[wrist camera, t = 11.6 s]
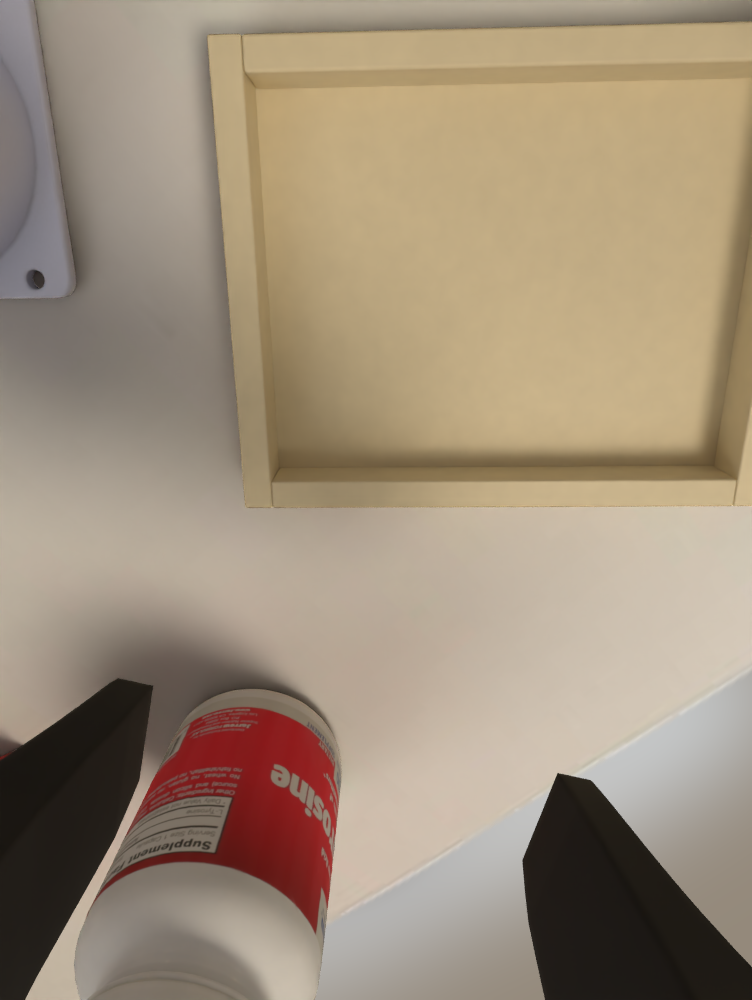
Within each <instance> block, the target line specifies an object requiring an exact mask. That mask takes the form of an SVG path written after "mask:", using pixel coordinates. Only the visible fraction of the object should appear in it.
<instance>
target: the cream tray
mask: <svg viewBox="0 0 752 1000" xmlns="http://www.w3.org/2000/svg"><path fill="white" fill-rule="evenodd" d="M207 44H208V56H209V69H210V81H211V93H212V105H213V118H214V130H215V142H216V154H217V167H218V179H219V191H220V203H221V216H222V228H223V240H224V253H225V265H226V277H227V289H228V302H229V314H230V326H231V338H232V351H233V363H234V375H235V387H236V400H237V412H238V424H239V437H240V449H241V461H242V473H243V486H244V498H245V507H246V508H271V507H274V508H333V507H610V506H732V505H733V506H752V21H746V22H706V23H666V24H626V25H586V26H546V27H505V28H465V29H425V30H385V31H345V32H305V33H265V34H244V35H243V36H241V35H240V34H209V35H207Z"/></svg>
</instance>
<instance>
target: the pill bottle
mask: <svg viewBox="0 0 752 1000" xmlns="http://www.w3.org/2000/svg"><path fill="white" fill-rule="evenodd" d="M341 774H342V769H341V758H340V753H339V749H338V746H337V743H336V740H335V738H334V736H333V734H332V732H331V731H330V729H329V727H328V726H327V725H326V723H325V722H324V721H323V720H322V719H321V717H320V716H319V715H318V714H317V713H316V712H314V711H313V710H312V709H311V708H310V707H308V706H307V705H306V704H304V703H302V702H301V701H299V700H297V699H295V698H292V697H290V696H287V695H285V694H282V693H278V692H274V691H269V690H263V689H241V690H234V691H229V692H226V693H223V694H219V695H217V696H215V697H212V698H210V699H208V700H207V701H205V702H203V703H202V704H200V705H199V706H198V707H197V708H195V709H194V710H193V711H192V712H191V713H190V714H189V715H188V716H187V717H186V718H185V720H184V721H183V722H182V724H181V725H180V727H179V729H178V730H177V732H176V734H175V736H174V738H173V740H172V742H171V744H170V746H169V748H168V750H167V752H166V754H165V756H164V759H163V761H162V763H161V765H160V767H159V769H158V771H157V773H156V775H155V777H154V779H153V781H152V783H151V785H150V787H149V789H148V792H147V794H146V796H145V798H144V800H143V802H142V804H141V806H140V808H139V810H138V812H137V814H136V816H135V818H134V820H133V822H132V824H131V826H130V828H129V830H128V832H127V834H126V836H125V838H124V840H123V842H122V844H121V847H120V849H119V851H118V853H117V855H116V857H115V859H114V861H113V863H112V865H111V867H110V869H109V871H108V873H107V875H106V877H105V880H104V881H103V883H102V885H101V887H100V890H99V892H98V894H97V896H96V898H95V900H94V902H93V904H92V906H91V908H90V910H89V912H88V914H87V917H86V920H85V922H84V924H83V927H82V929H81V931H80V934H79V938H78V941H77V946H76V951H75V961H74V969H75V981H76V985H77V989H78V994H79V997H80V999H81V1000H314V999H315V997H316V993H317V988H318V983H319V977H320V970H321V963H322V954H323V945H324V936H325V928H326V919H327V908H328V900H329V892H330V881H331V874H332V863H333V854H334V847H335V834H336V825H337V816H338V806H339V796H340V787H341Z"/></svg>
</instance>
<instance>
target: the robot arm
mask: <svg viewBox="0 0 752 1000" xmlns="http://www.w3.org/2000/svg"><path fill="white" fill-rule="evenodd" d="M37 270H38V271H39V272H41V273H42V274H43V277H44V279H45V282H44V286H43V287H42V288H41V289H40V288H38V287H37V286H36V285H35V283H34V281H33V275H34V273H35V272H36V271H37ZM75 287H76V274H75V267H74V261H73V254H72V247H71V241H70V234H69V227H68V221H67V214H66V208H65V201H64V194H63V188H62V181H61V175H60V168H59V161H58V155H57V148H56V141H55V135H54V128H53V122H52V115H51V108H50V102H49V95H48V88H47V82H46V75H45V69H44V62H43V55H42V49H41V42H40V36H39V29H38V22H37V16H36V9H35V2H34V0H0V299H19V298H63V297H67V296H69V295H70V294H72V293H73V292H74V289H75ZM152 690H153V686H151V685H147V684H142V683H138V682H133V681H128V680H124V679H119V678H118V679H116V680H114V681H112V682H111V683H109V684H108V685H107V686H105V687H104V688H102V689H101V690H100V691H98V692H97V693H96V694H94V695H93V696H92V697H90V698H89V699H88V700H86V701H85V702H84V703H82V704H81V705H80V706H78V707H77V708H75V709H74V710H73V711H71V712H70V713H69V714H67V715H66V716H64V717H63V718H62V719H60V720H59V721H57V722H56V723H55V724H53V725H52V726H50V727H49V728H47V729H46V730H44V731H43V732H41V733H40V734H39V735H37V736H36V737H34V738H33V739H31V740H30V741H28V742H27V743H25V744H24V745H22V746H21V747H19V748H18V749H17V750H15V751H13V752H12V753H10V754H9V755H7V756H6V757H4V758H3V759H1V760H0V1000H25V998H26V997H27V995H28V993H29V991H30V989H31V987H32V985H33V983H34V981H35V979H36V977H37V975H38V974H39V972H40V970H41V968H42V966H43V965H44V963H45V961H46V959H47V958H48V956H49V954H50V952H51V950H52V949H53V947H54V945H55V943H56V942H57V940H58V938H59V936H60V935H61V933H62V931H63V929H64V927H65V926H66V924H67V922H68V920H69V919H70V917H71V915H72V913H73V911H74V910H75V908H76V906H77V904H78V903H79V901H80V899H81V897H82V896H83V894H84V892H85V890H86V888H87V887H88V885H89V883H90V881H91V880H92V878H93V876H94V874H95V872H96V871H97V869H98V867H99V865H100V863H101V862H102V860H103V858H104V856H105V854H106V853H107V851H108V849H109V847H110V845H111V844H112V842H113V840H114V838H115V836H116V834H117V831H118V829H119V827H120V824H121V822H122V820H123V817H124V815H125V813H126V811H127V808H128V806H129V803H130V801H131V799H132V796H133V794H134V791H135V789H136V787H137V784H138V782H139V778H140V771H141V765H142V758H143V751H144V744H145V738H146V731H147V724H148V717H149V711H150V704H151V697H152ZM523 872H524V884H525V895H526V904H527V912H528V922H529V927H530V932H531V937H532V941H533V946H534V950H535V956H536V960H537V964H538V969H539V974H540V978H541V983H542V987H543V992H544V997H545V1000H752V967H751V966H750V965H749V964H748V962H746V960H745V959H744V958H743V957H742V956H741V955H740V954H739V953H738V952H737V951H736V950H735V949H734V948H733V947H732V946H731V945H730V943H729V942H728V941H727V940H726V939H725V938H724V937H723V936H722V935H721V934H720V932H719V931H718V930H717V929H716V928H715V927H714V926H713V925H712V924H711V923H710V921H709V920H708V919H707V918H706V917H705V916H704V915H703V914H702V913H701V912H700V910H699V909H698V908H697V907H696V906H695V905H694V904H693V902H692V901H691V900H690V899H689V898H688V897H687V896H686V894H685V893H684V892H683V891H682V890H681V888H680V887H679V886H678V885H677V884H676V883H675V881H674V880H673V879H672V878H671V877H670V875H669V874H668V873H667V872H666V871H665V870H664V868H663V867H662V866H661V865H660V863H659V862H658V861H657V860H656V859H655V857H654V856H653V855H652V854H651V853H650V851H649V850H648V849H647V848H646V846H645V845H644V844H643V843H642V841H641V840H640V839H639V838H638V836H637V835H636V834H635V833H634V831H633V830H632V829H631V828H630V827H629V825H628V824H627V823H626V822H625V820H624V819H623V818H622V817H621V815H620V814H619V813H618V812H617V810H616V809H615V808H614V807H613V806H612V804H611V803H610V802H609V801H608V799H607V798H606V797H605V796H604V795H603V794H602V792H601V791H600V790H599V789H598V788H597V787H596V786H595V784H594V783H593V782H592V781H591V780H587V779H582V778H578V777H573V776H569V775H564V774H559V773H558V774H557V776H556V779H555V781H554V784H553V786H552V789H551V791H550V793H549V796H548V799H547V801H546V803H545V806H544V808H543V811H542V814H541V816H540V818H539V821H538V823H537V826H536V828H535V831H534V833H533V835H532V838H531V840H530V843H529V845H528V848H527V850H526V853H525V855H524V858H523Z"/></svg>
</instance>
